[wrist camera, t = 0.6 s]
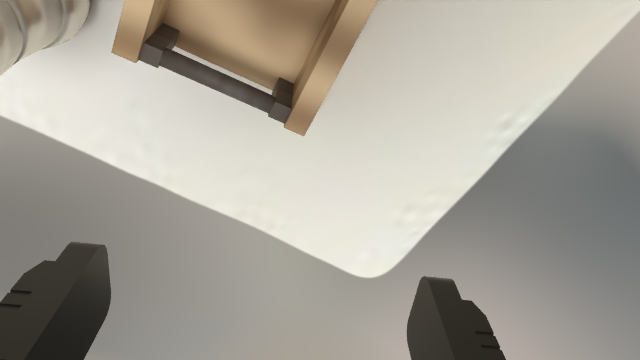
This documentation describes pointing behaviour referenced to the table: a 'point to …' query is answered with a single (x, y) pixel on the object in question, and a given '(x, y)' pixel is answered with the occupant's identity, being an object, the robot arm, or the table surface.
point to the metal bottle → (37, 26)
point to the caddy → (249, 47)
